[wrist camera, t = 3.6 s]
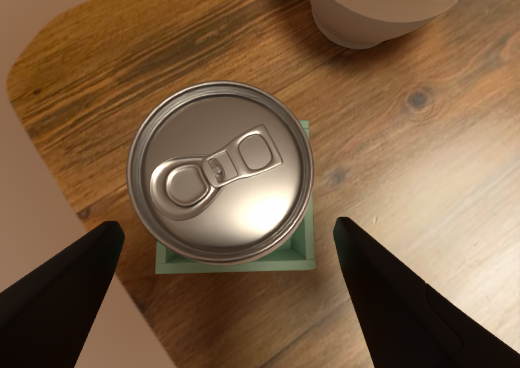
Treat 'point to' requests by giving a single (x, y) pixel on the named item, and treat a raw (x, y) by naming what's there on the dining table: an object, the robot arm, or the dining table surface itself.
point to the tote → (281, 259)
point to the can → (220, 172)
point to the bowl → (373, 19)
